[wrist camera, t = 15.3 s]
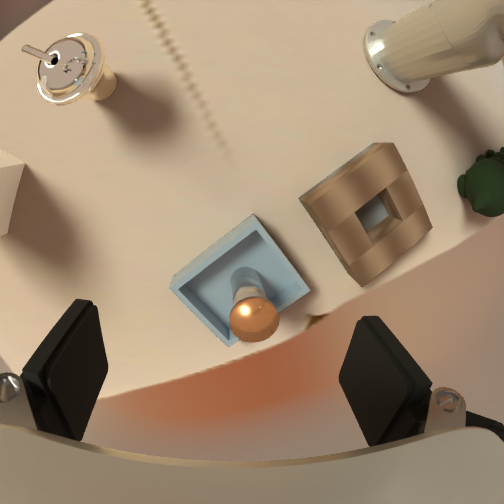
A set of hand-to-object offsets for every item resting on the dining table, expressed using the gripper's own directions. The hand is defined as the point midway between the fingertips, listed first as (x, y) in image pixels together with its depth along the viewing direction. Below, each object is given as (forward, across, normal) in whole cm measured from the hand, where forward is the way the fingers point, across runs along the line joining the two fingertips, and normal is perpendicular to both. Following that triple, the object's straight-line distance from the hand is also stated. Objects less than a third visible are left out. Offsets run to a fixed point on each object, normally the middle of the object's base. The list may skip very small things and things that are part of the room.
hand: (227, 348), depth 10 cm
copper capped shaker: (+29, -4, +11) cm, 31 cm away
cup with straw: (+30, +18, -15) cm, 38 cm away
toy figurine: (+31, -45, -12) cm, 56 cm away
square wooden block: (+30, -20, -1) cm, 36 cm away
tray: (+30, -3, +11) cm, 32 cm away
